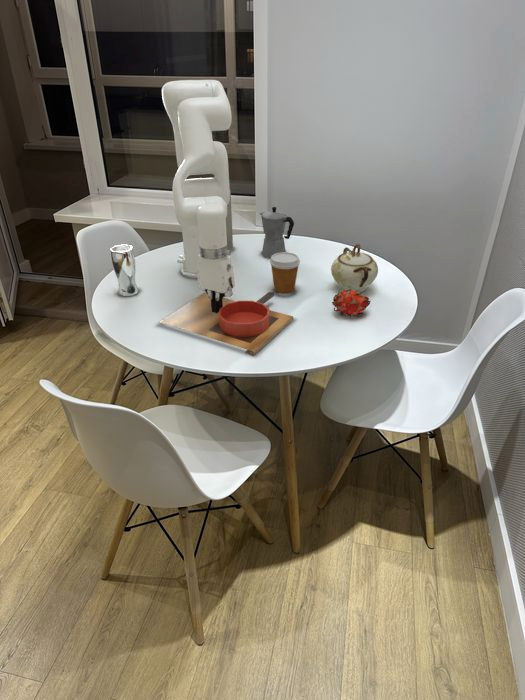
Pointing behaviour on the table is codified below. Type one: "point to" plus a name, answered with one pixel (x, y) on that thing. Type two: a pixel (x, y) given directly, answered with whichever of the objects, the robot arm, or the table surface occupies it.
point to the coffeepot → (275, 232)
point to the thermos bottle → (229, 225)
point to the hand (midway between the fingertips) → (217, 310)
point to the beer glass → (124, 269)
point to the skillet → (245, 317)
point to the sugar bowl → (354, 270)
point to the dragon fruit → (350, 302)
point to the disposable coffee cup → (284, 271)
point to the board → (206, 323)
